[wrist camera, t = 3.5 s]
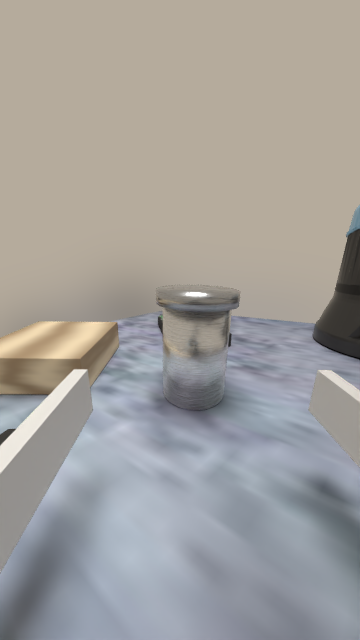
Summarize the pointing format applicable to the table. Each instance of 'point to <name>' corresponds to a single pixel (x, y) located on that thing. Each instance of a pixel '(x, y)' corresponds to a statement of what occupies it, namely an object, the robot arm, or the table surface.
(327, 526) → the table surface
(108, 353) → the stand
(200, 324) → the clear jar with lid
